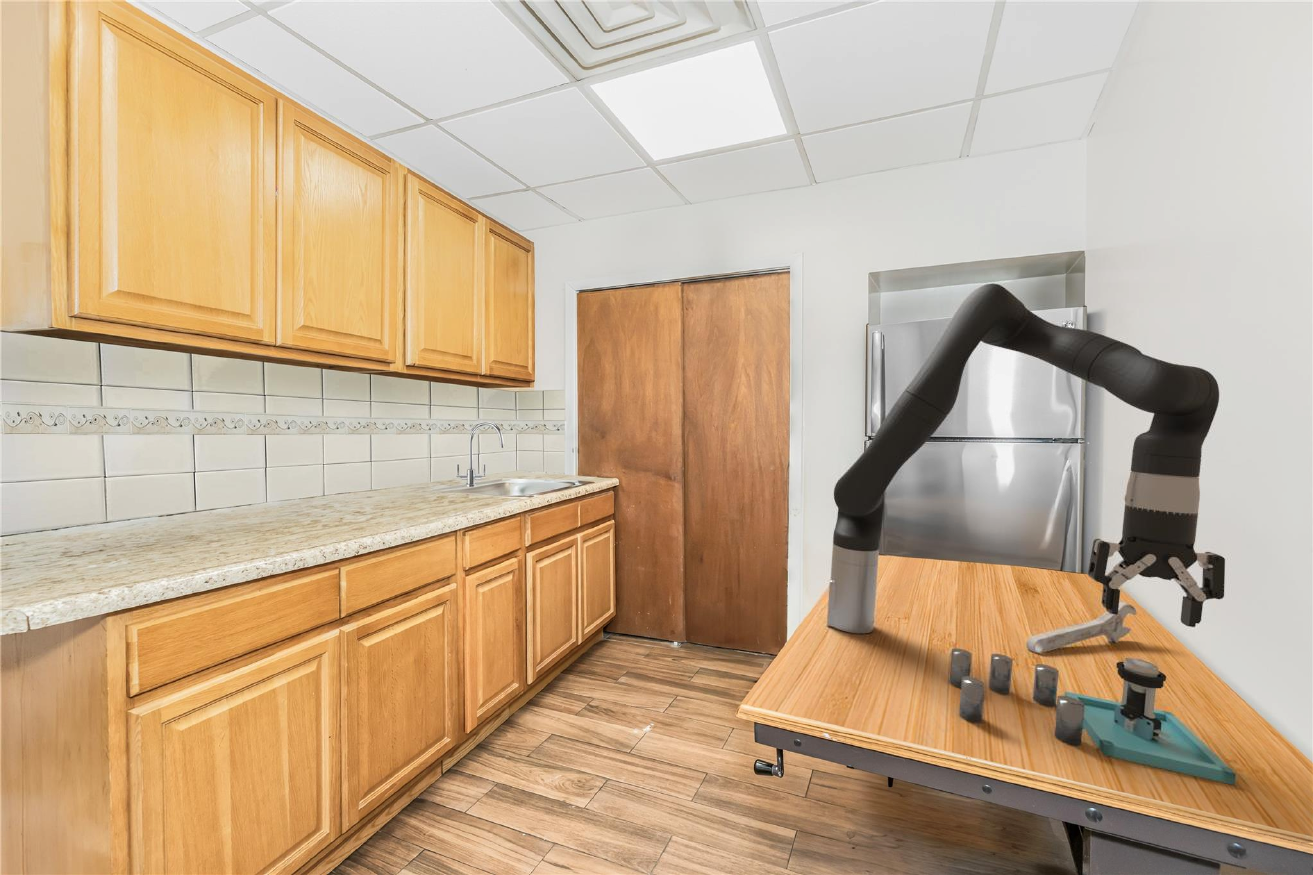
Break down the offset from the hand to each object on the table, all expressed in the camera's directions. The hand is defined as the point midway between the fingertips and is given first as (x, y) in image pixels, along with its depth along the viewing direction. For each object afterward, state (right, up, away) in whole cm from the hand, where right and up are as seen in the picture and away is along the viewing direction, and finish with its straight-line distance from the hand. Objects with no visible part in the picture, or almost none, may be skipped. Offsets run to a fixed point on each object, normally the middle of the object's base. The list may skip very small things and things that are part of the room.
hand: (1149, 618), depth 76 cm
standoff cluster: (-15, -16, +7) cm, 24 cm away
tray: (-1, -17, +1) cm, 17 cm away
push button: (0, -17, +1) cm, 17 cm away
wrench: (+18, -18, +34) cm, 42 cm away
